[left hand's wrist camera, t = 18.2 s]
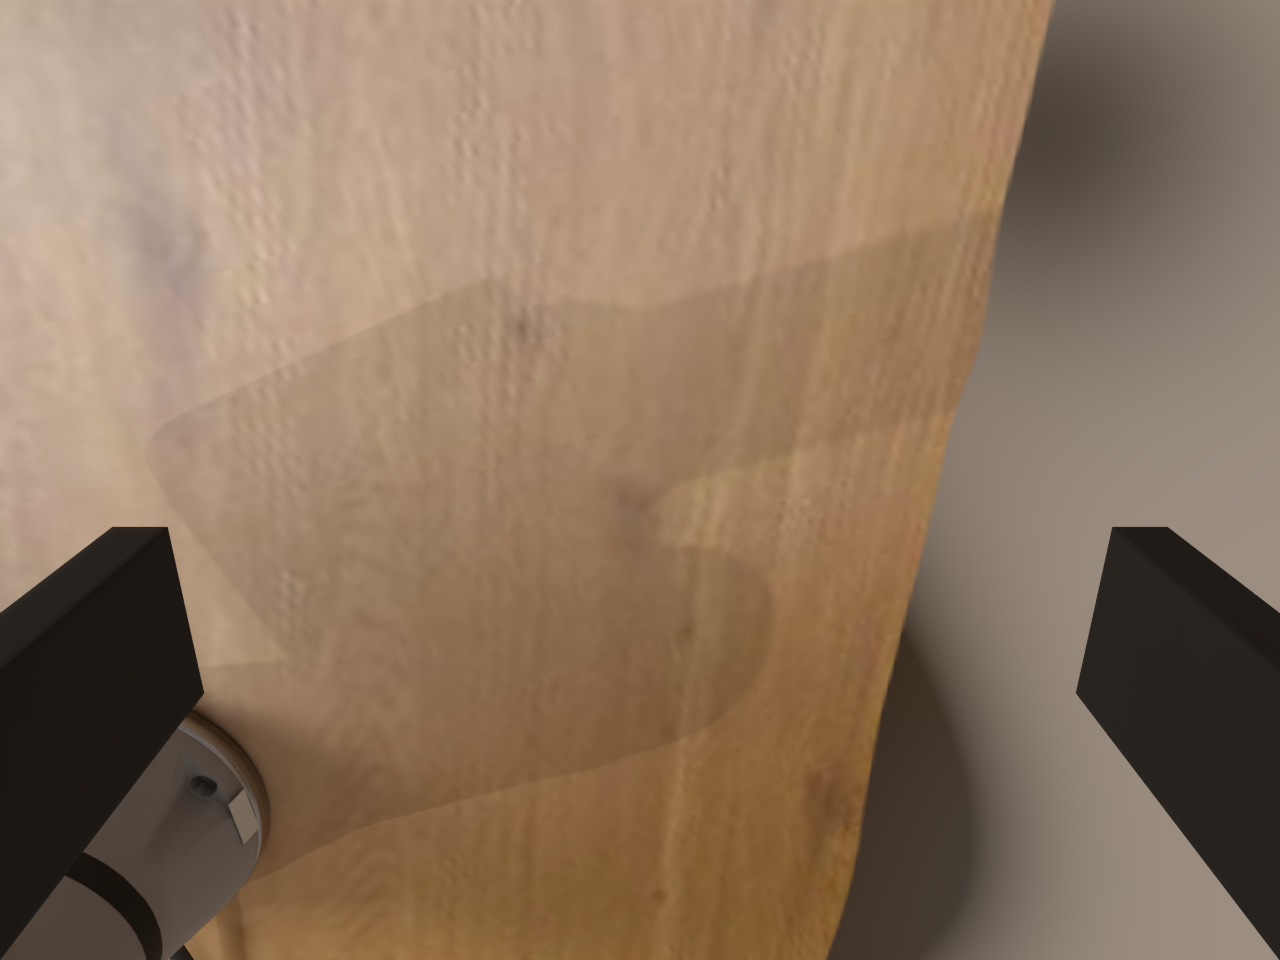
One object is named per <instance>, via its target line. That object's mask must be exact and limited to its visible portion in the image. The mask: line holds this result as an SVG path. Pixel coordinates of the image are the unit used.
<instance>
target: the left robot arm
mask: <svg viewBox="0 0 1280 960" xmlns="http://www.w3.org/2000/svg"><path fill="white" fill-rule="evenodd" d="M203 694H204V691H203V686H202V681H201V677H200V672H199V668H198V663H197V659H196V654H195V650H194V645H193V640H192V636H191V631H190V627H189V622H188V618H187V613H186V609H185V604H184V599H183V595H182V590H181V586H180V581H179V577H178V572H177V568H176V563H175V558H174V554H173V549H172V545H171V540H170V536H169V531H168V527H112V528H110V529H109V530H108V531H107V532H105V533H104V534H103V535H101V536H100V537H99V538H97V539H96V540H95V541H94V542H92V543H91V544H90V545H88V546H87V547H86V548H84V549H83V550H82V551H81V552H79V553H78V554H77V555H75V556H74V557H73V558H71V559H70V560H69V561H68V562H66V563H65V564H64V565H62V566H61V567H60V568H58V569H57V570H56V571H54V572H53V573H52V574H51V575H49V576H48V577H47V578H45V579H44V580H43V581H41V582H40V583H39V584H38V585H36V586H35V587H34V588H32V589H31V590H30V591H28V592H27V593H26V594H25V595H23V596H22V597H21V598H19V599H18V600H17V601H15V602H14V603H13V604H12V605H10V606H9V607H8V608H6V609H5V610H4V611H2V612H1V613H0V960H168V959H169V958H170V960H194V959H193V958H192V956H191V955H190V953H189V952H188V950H187V949H186V947H185V946H184V944H185V943H186V942H187V941H188V940H189V939H190V938H192V937H193V936H194V935H195V934H196V933H197V932H198V931H199V930H200V929H201V928H202V927H203V926H204V925H205V924H206V923H208V922H209V921H210V920H211V919H212V918H213V917H214V916H215V915H216V914H217V913H218V912H219V911H220V910H221V909H222V908H224V907H225V906H226V905H227V904H228V903H229V902H230V901H231V900H232V899H233V897H234V896H235V895H236V894H237V893H238V891H239V890H240V889H241V888H242V886H243V885H244V884H245V883H246V881H247V880H248V878H249V877H250V875H251V873H252V871H253V869H254V867H255V865H256V863H257V861H258V859H259V857H260V855H261V854H262V852H263V850H264V847H265V844H266V842H267V838H268V833H269V826H270V811H269V805H268V799H267V796H266V792H265V789H264V787H263V784H262V782H261V779H260V777H259V776H258V774H257V772H256V770H255V768H254V767H253V765H252V764H251V762H250V761H249V759H248V758H247V757H246V755H245V754H244V753H243V752H242V751H241V750H240V748H239V747H238V746H237V745H236V744H235V743H234V742H233V741H232V740H231V739H230V738H229V737H228V736H226V735H225V734H224V733H223V732H222V731H221V730H219V729H218V728H217V727H215V726H214V725H213V724H211V723H210V722H208V721H207V720H205V719H204V718H202V717H200V716H199V715H197V714H195V713H194V712H192V711H191V710H192V708H193V707H194V706H195V704H196V703H197V702H198V700H199V699H200V698H201V697H202V695H203ZM1076 694H1077V695H1078V697H1079V698H1080V699H1081V701H1082V702H1083V703H1084V704H1085V706H1086V707H1087V708H1088V710H1089V711H1090V712H1091V714H1092V715H1093V716H1094V718H1095V719H1096V720H1097V721H1098V723H1099V724H1100V725H1101V727H1102V728H1103V729H1104V731H1105V732H1106V733H1107V735H1108V736H1109V737H1110V739H1111V740H1112V741H1113V742H1114V744H1115V745H1116V746H1117V748H1118V749H1119V750H1120V752H1121V753H1122V754H1123V756H1124V757H1125V758H1126V759H1127V761H1128V762H1129V763H1130V765H1131V766H1132V767H1133V769H1134V770H1135V771H1136V773H1137V774H1138V775H1139V776H1140V778H1141V779H1142V780H1143V782H1144V783H1145V784H1146V786H1147V787H1148V788H1149V790H1150V791H1151V792H1152V794H1153V795H1154V796H1155V797H1156V799H1157V800H1158V801H1159V803H1160V804H1161V805H1162V807H1163V808H1164V809H1165V811H1166V812H1167V813H1168V814H1169V816H1170V817H1171V818H1172V820H1173V821H1174V822H1175V824H1176V825H1177V826H1178V828H1179V829H1180V830H1181V832H1182V833H1183V834H1184V835H1185V837H1186V838H1187V839H1188V841H1189V842H1190V843H1191V845H1192V846H1193V847H1194V849H1195V850H1196V851H1197V853H1198V854H1199V855H1200V856H1201V858H1202V859H1203V860H1204V862H1205V863H1206V864H1207V866H1208V867H1209V868H1210V870H1211V871H1212V872H1213V873H1214V875H1215V876H1216V877H1217V879H1218V880H1219V881H1220V883H1221V884H1222V885H1223V887H1224V888H1225V889H1226V890H1227V892H1228V893H1229V894H1230V896H1231V897H1232V898H1233V900H1234V901H1235V902H1236V904H1237V905H1238V906H1239V908H1240V909H1241V910H1242V911H1243V913H1244V914H1245V915H1246V917H1247V918H1248V919H1249V921H1250V922H1251V923H1252V925H1253V926H1254V927H1255V928H1256V930H1257V931H1258V932H1259V934H1260V935H1261V936H1262V938H1263V939H1264V940H1265V942H1266V943H1267V944H1268V946H1269V947H1270V948H1271V949H1272V951H1273V952H1274V953H1275V955H1276V956H1277V957H1278V959H1279V960H1280V613H1279V612H1278V611H1276V610H1275V609H1274V608H1272V607H1271V606H1270V605H1268V604H1267V603H1266V602H1265V601H1263V600H1262V599H1261V598H1259V597H1258V596H1257V595H1255V594H1254V593H1253V592H1252V591H1250V590H1249V589H1248V588H1246V587H1245V586H1244V585H1242V584H1241V583H1240V582H1238V581H1237V580H1236V579H1235V578H1233V577H1232V576H1231V575H1229V574H1228V573H1227V572H1225V571H1224V570H1223V569H1222V568H1220V567H1219V566H1218V565H1216V564H1215V563H1214V562H1212V561H1211V560H1210V559H1208V558H1207V557H1206V556H1205V555H1203V554H1202V553H1201V552H1199V551H1198V550H1197V549H1196V548H1194V547H1193V546H1192V545H1190V544H1189V543H1188V542H1186V541H1185V540H1184V539H1183V538H1181V537H1180V536H1179V535H1177V534H1176V533H1175V532H1173V531H1172V530H1171V529H1170V528H1168V527H1112V531H1111V536H1110V540H1109V545H1108V549H1107V554H1106V558H1105V563H1104V567H1103V572H1102V577H1101V581H1100V586H1099V590H1098V595H1097V599H1096V604H1095V609H1094V613H1093V618H1092V622H1091V627H1090V631H1089V636H1088V640H1087V645H1086V650H1085V654H1084V659H1083V663H1082V668H1081V672H1080V677H1079V681H1078V686H1077V691H1076Z"/></svg>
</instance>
